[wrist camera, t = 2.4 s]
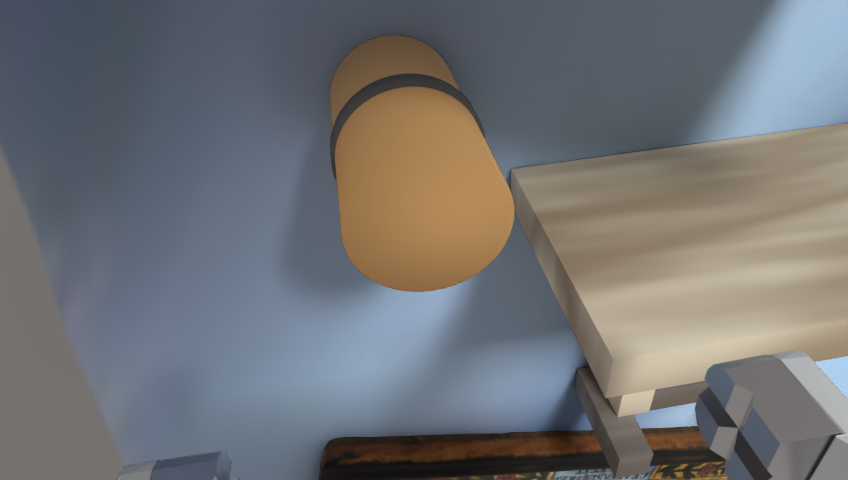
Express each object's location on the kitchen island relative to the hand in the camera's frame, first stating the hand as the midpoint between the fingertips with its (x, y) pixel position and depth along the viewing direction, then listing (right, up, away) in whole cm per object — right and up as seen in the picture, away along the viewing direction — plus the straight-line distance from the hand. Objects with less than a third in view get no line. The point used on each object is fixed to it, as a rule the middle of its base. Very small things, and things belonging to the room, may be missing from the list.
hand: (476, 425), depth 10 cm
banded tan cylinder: (-2, +8, +9) cm, 12 cm away
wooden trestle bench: (+12, +2, +16) cm, 20 cm away
